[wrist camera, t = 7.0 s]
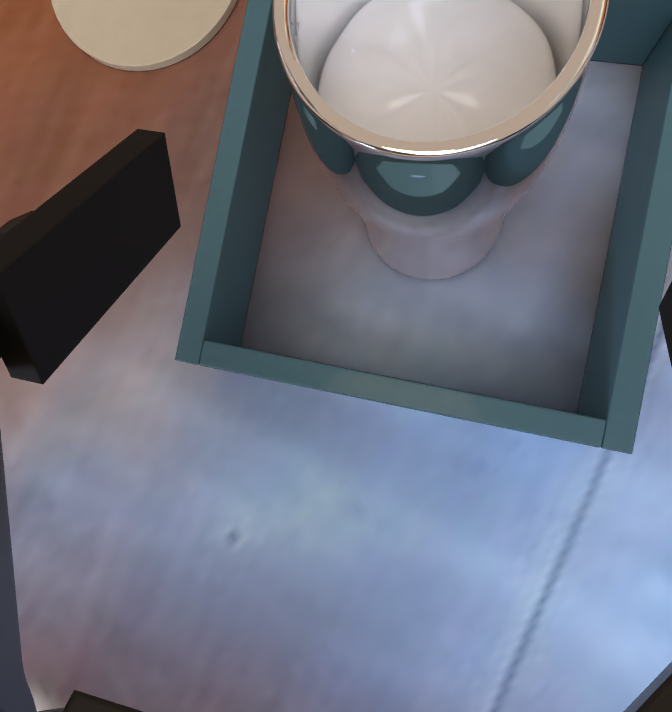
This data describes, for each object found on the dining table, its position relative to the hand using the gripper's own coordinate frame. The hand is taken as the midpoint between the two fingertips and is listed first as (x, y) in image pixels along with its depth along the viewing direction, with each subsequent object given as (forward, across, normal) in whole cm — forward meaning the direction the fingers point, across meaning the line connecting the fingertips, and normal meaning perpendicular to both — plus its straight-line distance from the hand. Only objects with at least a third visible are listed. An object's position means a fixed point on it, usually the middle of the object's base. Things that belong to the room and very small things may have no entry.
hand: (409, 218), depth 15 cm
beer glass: (+11, 0, -6) cm, 12 cm away
